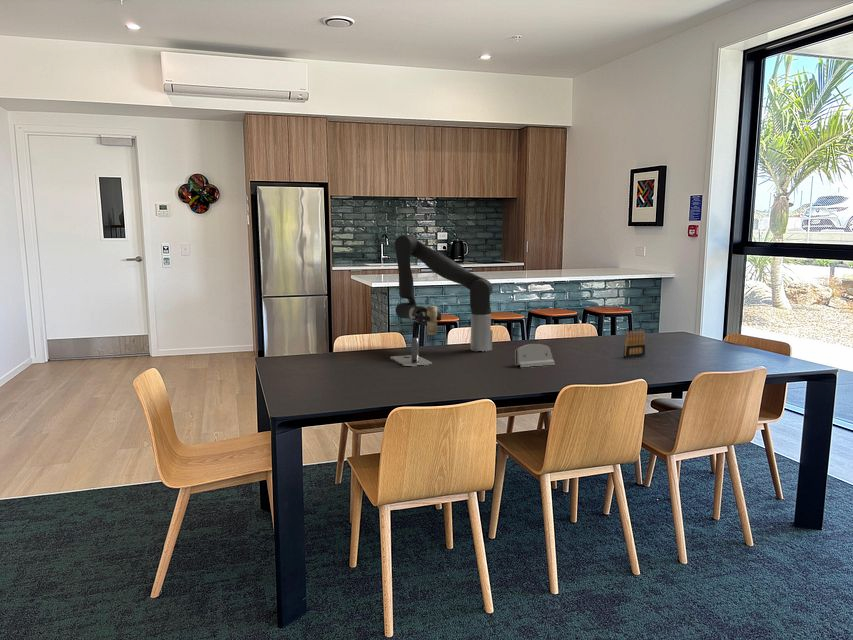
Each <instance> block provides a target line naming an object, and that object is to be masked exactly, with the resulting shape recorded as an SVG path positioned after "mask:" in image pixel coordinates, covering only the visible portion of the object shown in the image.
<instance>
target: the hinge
mask: <svg viewBox="0 0 853 640" xmlns="http://www.w3.org/2000/svg"><path fill="white" fill-rule="evenodd" d="M551 351H552V350H551V348H550V346H549V345H546V344H541V343H528V344H524V345H522V346H519V347H517V348H516V349H515V350H514V366H515V365H516V366H515V367H520V368H521V367H530V366H543V365H555V366H556V363H555V360H554V359H553V354H552V352H551ZM518 365H520V366H518ZM543 367H544V366H543Z"/></svg>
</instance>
